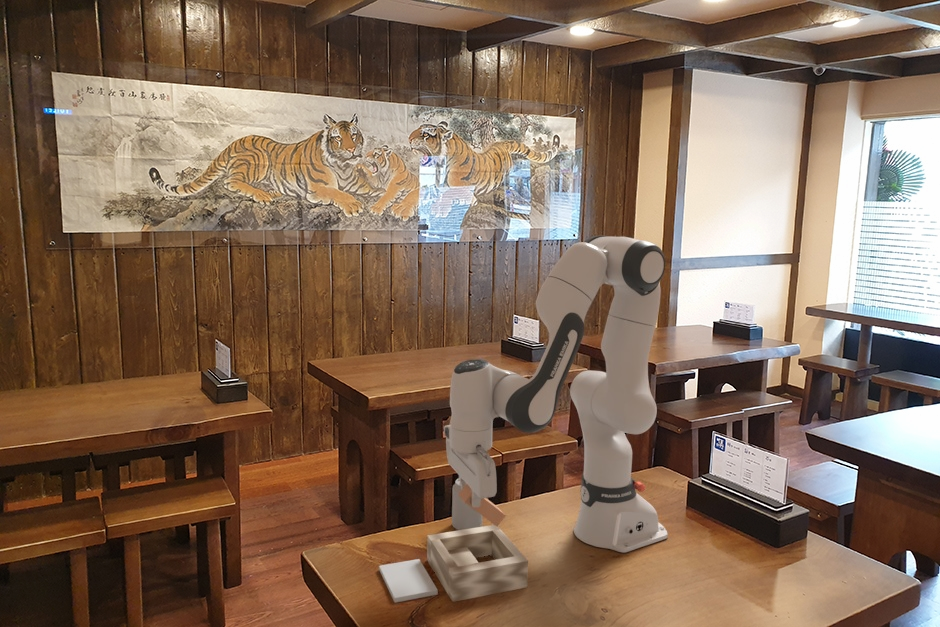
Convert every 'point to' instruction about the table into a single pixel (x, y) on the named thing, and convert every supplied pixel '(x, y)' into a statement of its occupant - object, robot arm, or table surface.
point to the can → (463, 511)
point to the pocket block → (476, 562)
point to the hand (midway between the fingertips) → (470, 500)
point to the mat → (407, 580)
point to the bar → (483, 507)
